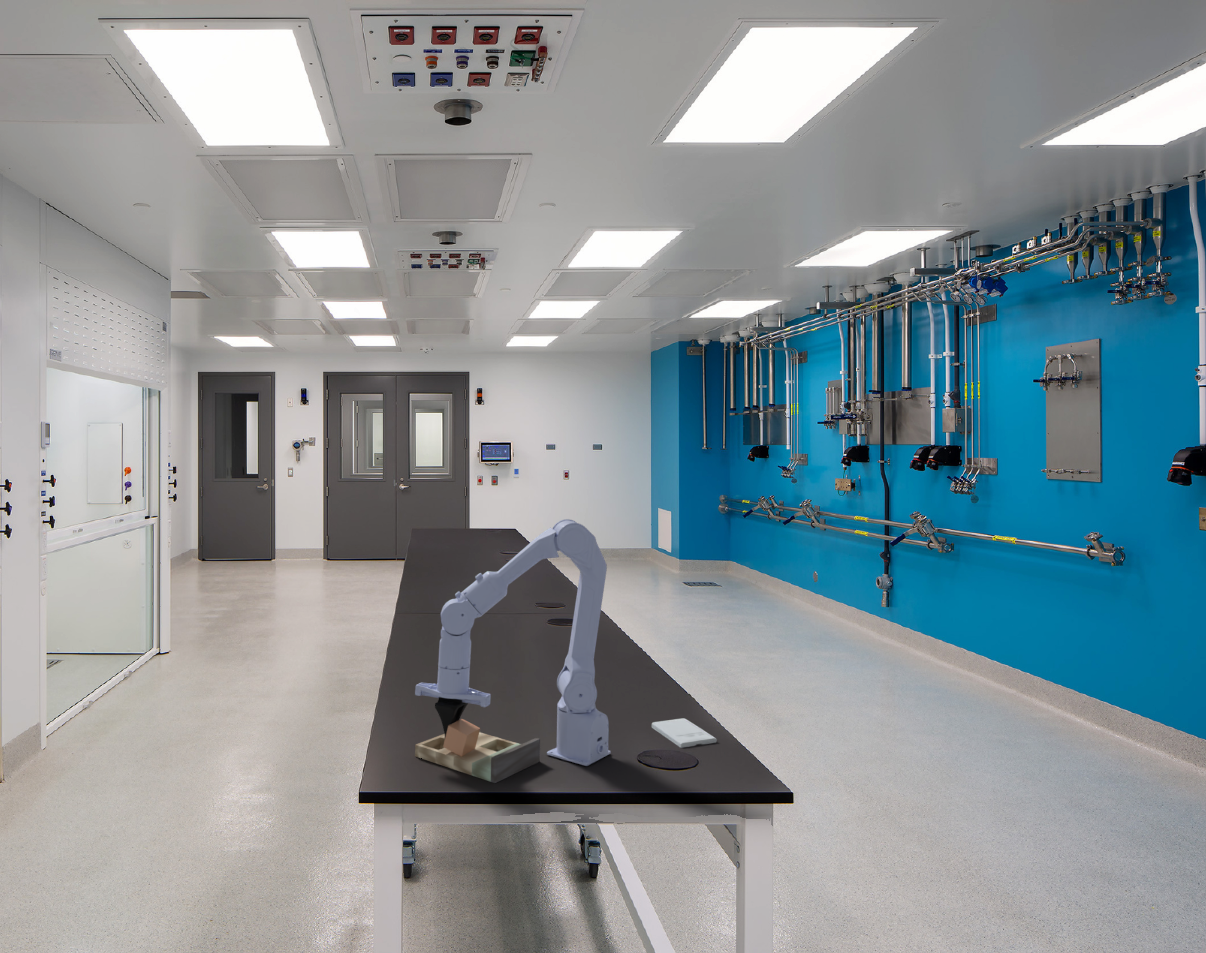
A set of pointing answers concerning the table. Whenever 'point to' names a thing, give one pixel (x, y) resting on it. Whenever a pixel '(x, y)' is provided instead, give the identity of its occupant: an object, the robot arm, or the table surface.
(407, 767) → the table surface
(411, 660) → the table surface
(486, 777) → the trap board
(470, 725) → the block
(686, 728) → the external hard drive
